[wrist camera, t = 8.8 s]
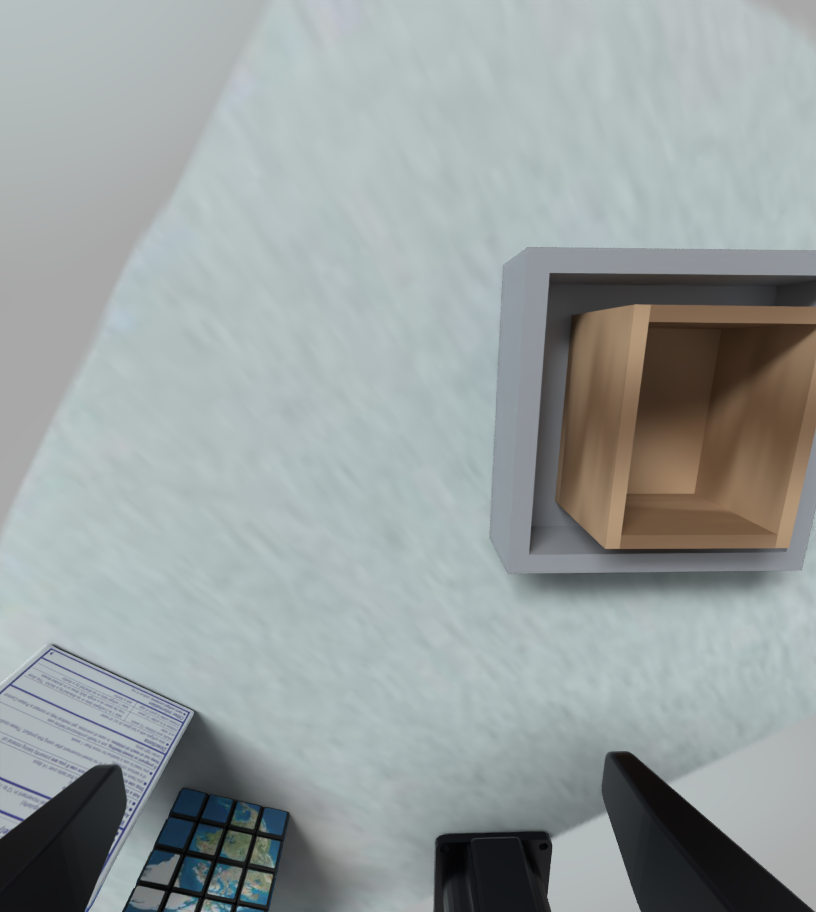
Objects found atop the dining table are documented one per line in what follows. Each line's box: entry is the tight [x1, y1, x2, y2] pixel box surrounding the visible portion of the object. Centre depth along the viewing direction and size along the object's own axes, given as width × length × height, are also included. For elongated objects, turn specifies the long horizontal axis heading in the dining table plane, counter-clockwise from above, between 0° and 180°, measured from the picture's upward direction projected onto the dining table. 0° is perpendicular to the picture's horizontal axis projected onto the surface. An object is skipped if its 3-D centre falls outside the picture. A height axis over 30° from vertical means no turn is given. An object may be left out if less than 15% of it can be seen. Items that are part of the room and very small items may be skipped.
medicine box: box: [0, 644, 194, 912], centre depth 19 cm, size 8×4×9 cm, turn 57°
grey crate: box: [490, 247, 816, 574], centre depth 19 cm, size 12×12×4 cm
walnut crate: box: [555, 304, 816, 549], centre depth 17 cm, size 8×6×5 cm
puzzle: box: [122, 789, 290, 912], centre depth 22 cm, size 6×6×6 cm
